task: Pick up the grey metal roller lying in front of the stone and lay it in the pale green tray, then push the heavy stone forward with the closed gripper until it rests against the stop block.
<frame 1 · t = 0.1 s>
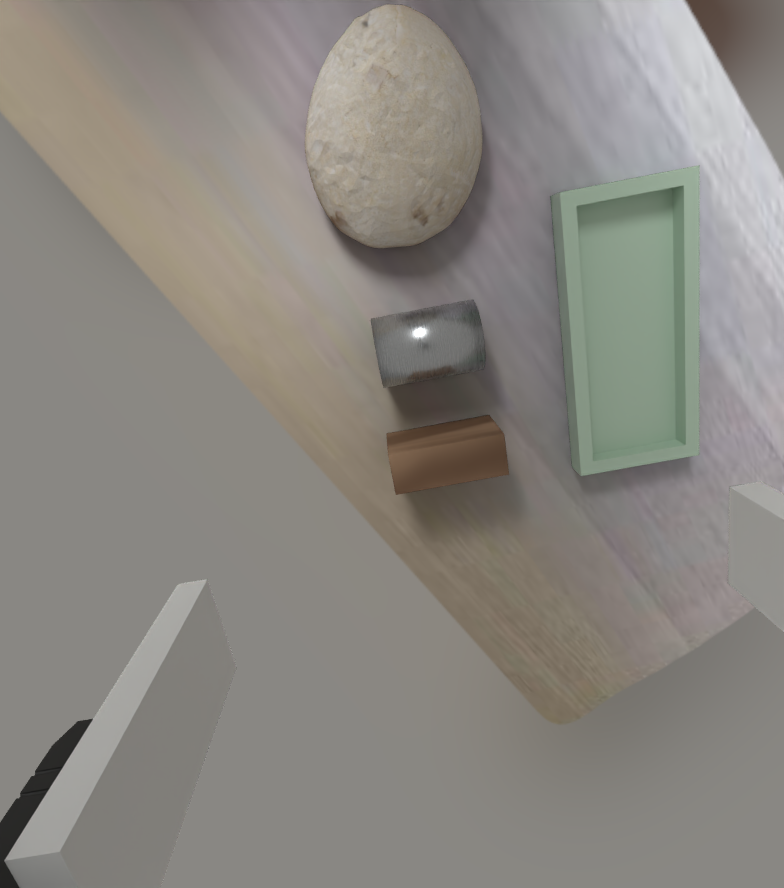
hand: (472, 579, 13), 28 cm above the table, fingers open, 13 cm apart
stop block: (440, 442, 42), on the table
tray: (622, 331, 39), on the table
roller: (424, 340, 39), on the table
stone: (392, 145, 35), on the table
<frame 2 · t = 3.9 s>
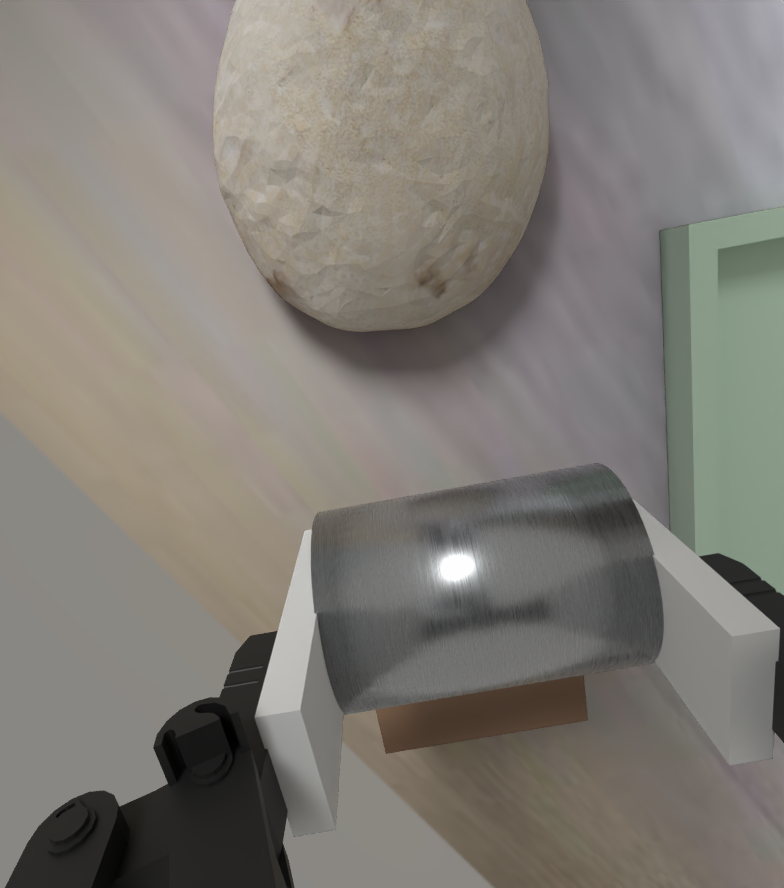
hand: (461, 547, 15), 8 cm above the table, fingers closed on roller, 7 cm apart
stop block: (461, 626, 25), on the table
tray: (771, 453, 23), on the table
roller: (460, 542, 16), point 8 cm above the table, touching gripper
stone: (381, 150, 20), on the table
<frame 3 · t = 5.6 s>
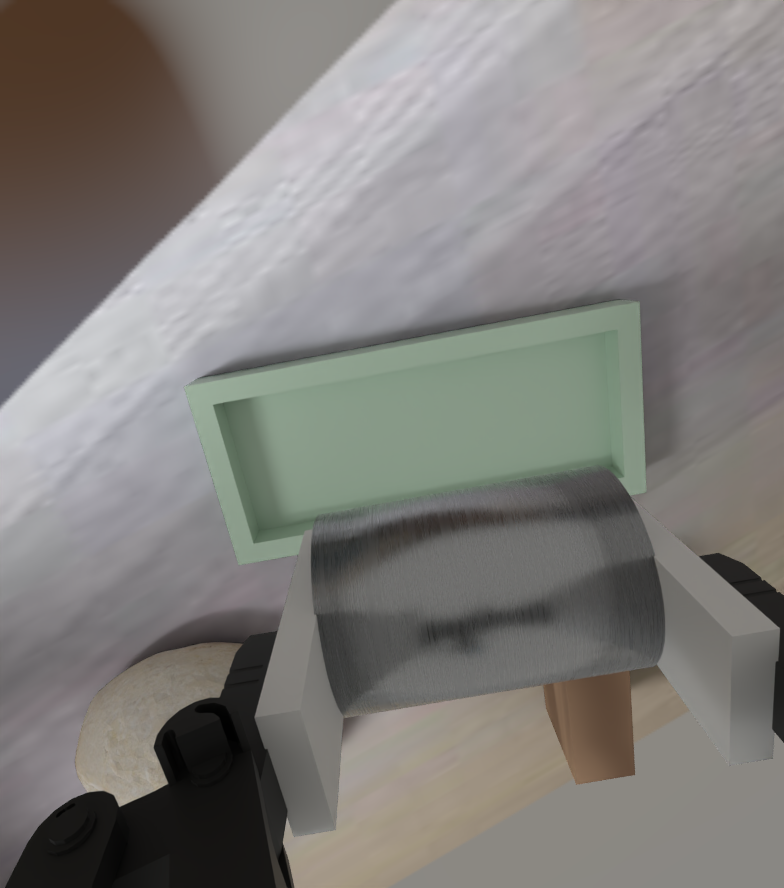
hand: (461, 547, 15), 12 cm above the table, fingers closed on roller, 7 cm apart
stop block: (565, 649, 31), on the table
tray: (422, 429, 26), on the table
roller: (460, 544, 15), point 11 cm above the table, touching gripper
stone: (218, 703, 32), on the table
when the fingers open (2 cm above the table, at t = 7.3 s): roller stays where it is, resting on tray.
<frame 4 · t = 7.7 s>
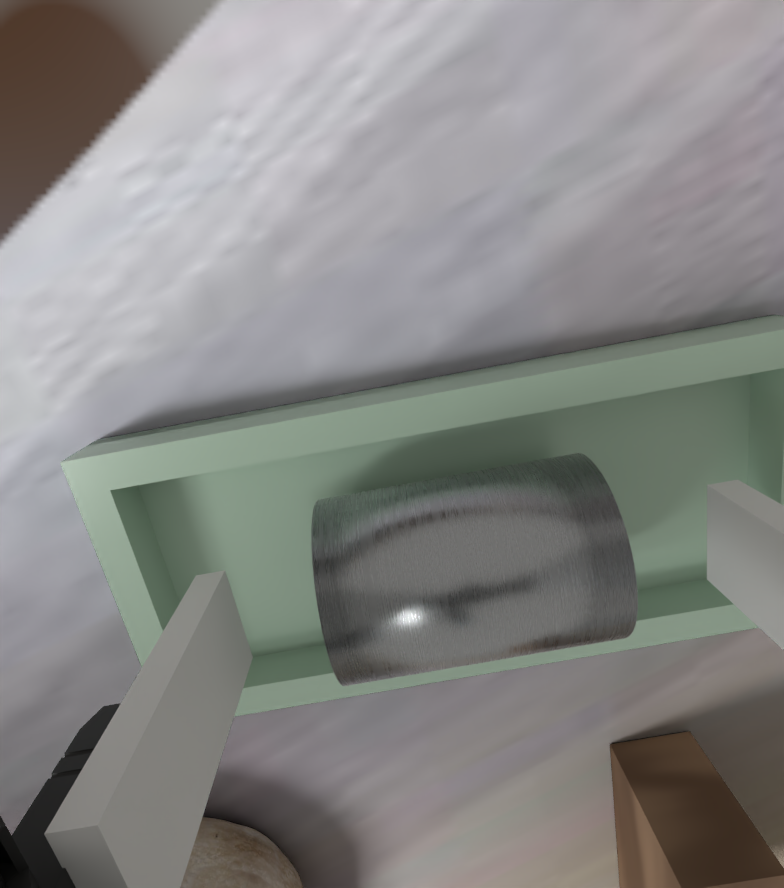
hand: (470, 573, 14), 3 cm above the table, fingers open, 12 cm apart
stop block: (652, 814, 21), on the table
tray: (451, 515, 17), on the table
roller: (451, 528, 16), point 1 cm above the table, touching tray
stone: (159, 883, 22), on the table
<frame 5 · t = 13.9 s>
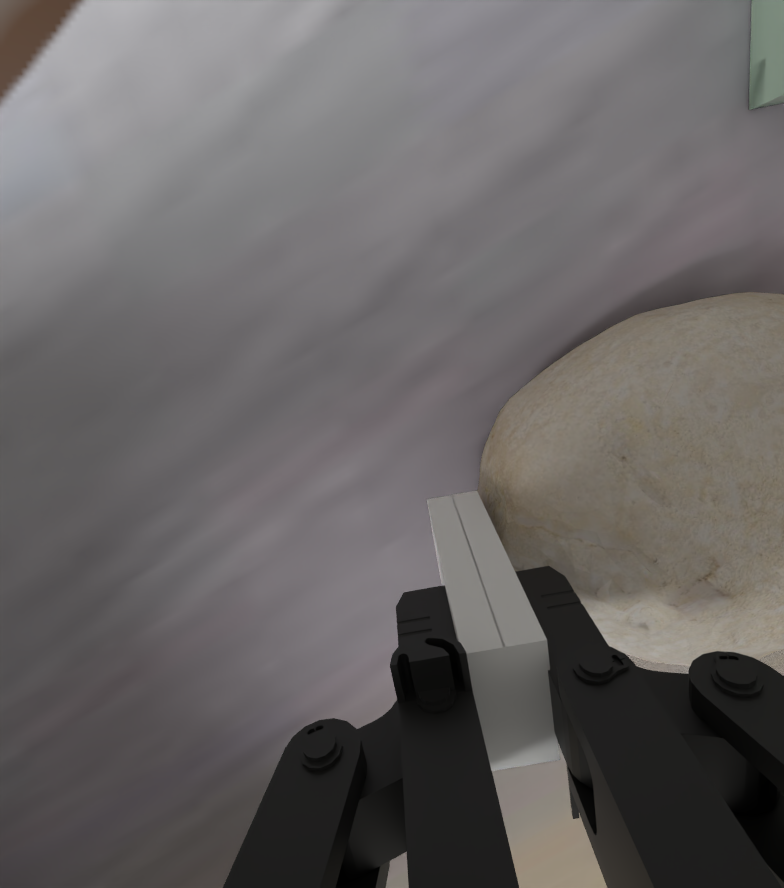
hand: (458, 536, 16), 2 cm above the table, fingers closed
stone: (660, 464, 18), on the table, touching gripper
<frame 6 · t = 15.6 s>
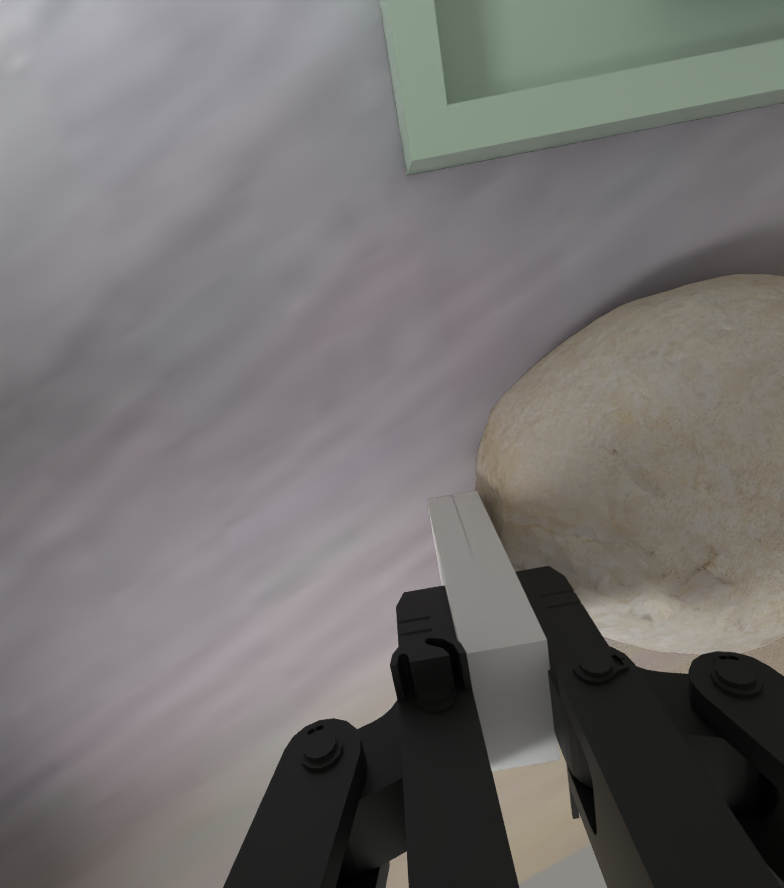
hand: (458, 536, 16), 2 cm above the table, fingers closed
stone: (660, 452, 18), on the table, touching gripper
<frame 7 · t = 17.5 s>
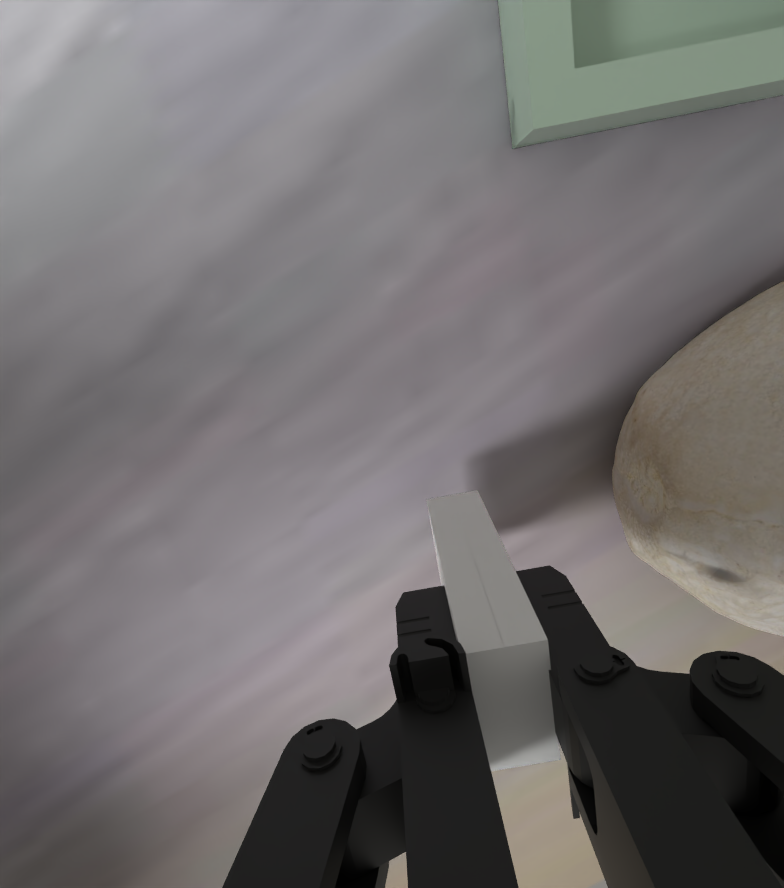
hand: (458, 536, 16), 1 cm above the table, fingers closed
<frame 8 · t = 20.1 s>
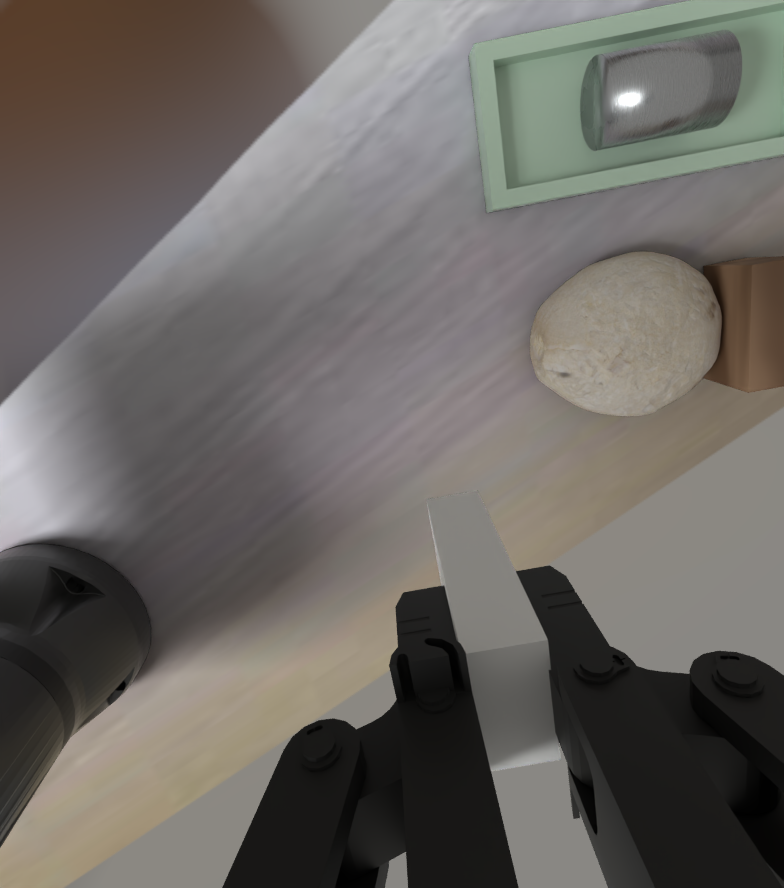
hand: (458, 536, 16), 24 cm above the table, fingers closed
stop block: (724, 319, 38), on the table
tray: (633, 107, 34), on the table
roller: (636, 107, 33), point 1 cm above the table, touching tray
stone: (611, 334, 39), on the table
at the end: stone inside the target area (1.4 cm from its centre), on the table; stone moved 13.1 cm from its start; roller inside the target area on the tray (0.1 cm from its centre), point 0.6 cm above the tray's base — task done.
